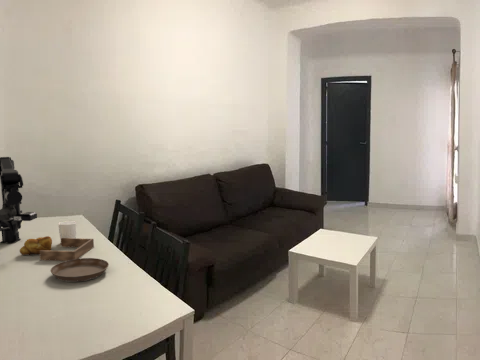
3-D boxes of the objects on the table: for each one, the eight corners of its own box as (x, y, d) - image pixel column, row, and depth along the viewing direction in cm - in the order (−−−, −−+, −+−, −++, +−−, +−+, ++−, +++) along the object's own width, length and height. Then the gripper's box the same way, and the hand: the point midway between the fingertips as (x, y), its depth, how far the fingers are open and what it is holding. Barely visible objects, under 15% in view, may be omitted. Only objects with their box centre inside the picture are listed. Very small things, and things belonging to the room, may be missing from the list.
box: (40, 260, 164) (39, 251, 163) (62, 246, 183) (61, 238, 182) (75, 261, 163) (74, 251, 163) (93, 247, 182) (93, 238, 182)
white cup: (72, 245, 184) (71, 225, 183) (56, 245, 184) (55, 224, 183) (80, 240, 192) (79, 220, 190) (64, 240, 192) (63, 220, 191)
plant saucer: (91, 261, 164) (90, 253, 164) (119, 273, 151) (119, 265, 151) (41, 275, 148) (40, 267, 148) (67, 290, 135) (67, 281, 135)
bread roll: (19, 258, 166) (18, 240, 165) (20, 251, 175) (19, 234, 174) (52, 254, 172) (51, 236, 171) (52, 248, 180) (51, 231, 179)
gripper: (-22, 203, 163) (-19, 239, 165) (21, 204, 162) (24, 240, 165) (-5, 198, 174) (-2, 232, 176) (36, 199, 173) (38, 233, 176)
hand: (14, 234), depth 173 cm, fingers closed
